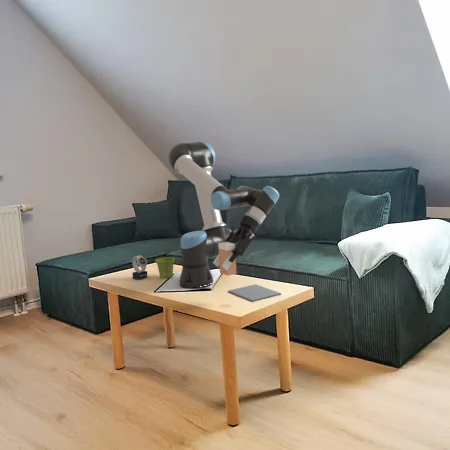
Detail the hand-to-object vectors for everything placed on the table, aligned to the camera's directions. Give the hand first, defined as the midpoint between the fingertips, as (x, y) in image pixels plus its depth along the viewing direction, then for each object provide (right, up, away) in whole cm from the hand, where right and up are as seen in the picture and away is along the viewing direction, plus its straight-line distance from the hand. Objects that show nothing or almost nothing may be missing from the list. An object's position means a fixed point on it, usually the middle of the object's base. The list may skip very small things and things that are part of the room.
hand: (219, 266), depth 196 cm
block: (+3, -3, +2) cm, 5 cm away
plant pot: (-26, -9, +47) cm, 54 cm away
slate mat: (+14, -12, +11) cm, 22 cm away
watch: (-39, -10, +47) cm, 62 cm away
